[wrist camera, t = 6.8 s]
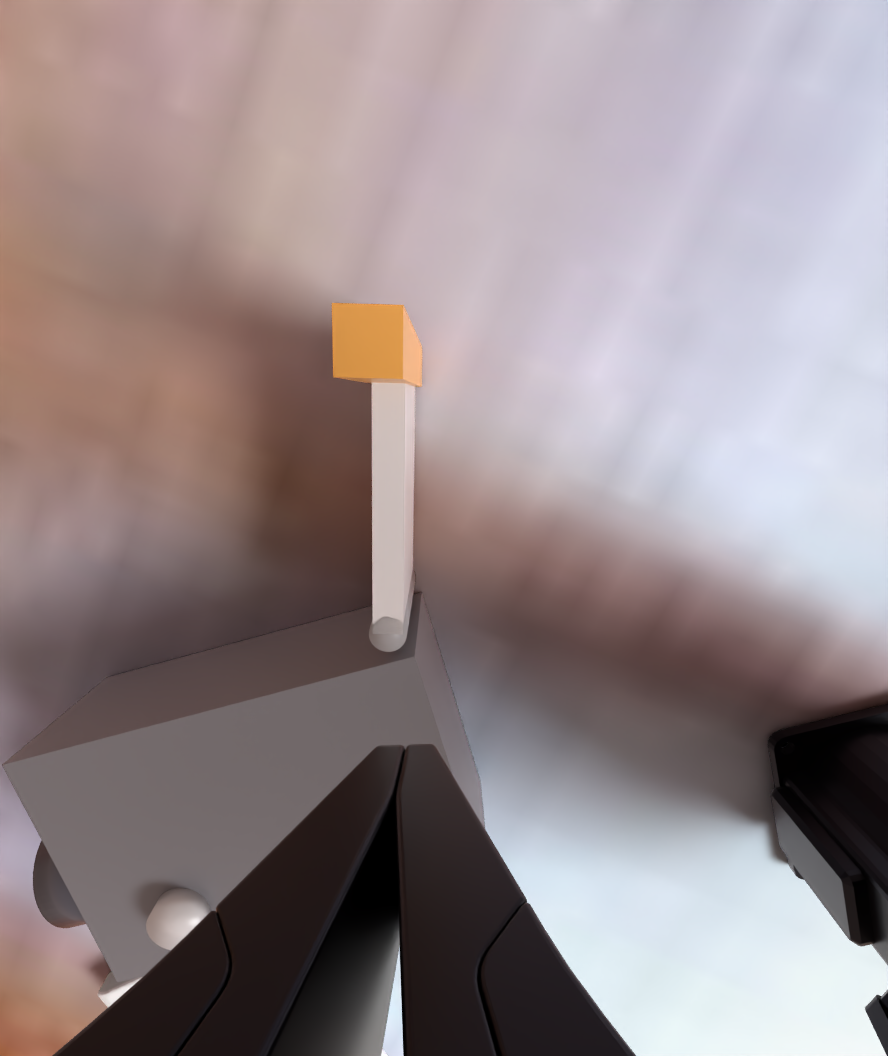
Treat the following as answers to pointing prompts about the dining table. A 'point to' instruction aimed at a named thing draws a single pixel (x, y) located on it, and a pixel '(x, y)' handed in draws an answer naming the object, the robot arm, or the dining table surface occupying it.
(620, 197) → the dining table surface
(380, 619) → the side door
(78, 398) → the dining table surface
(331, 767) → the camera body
